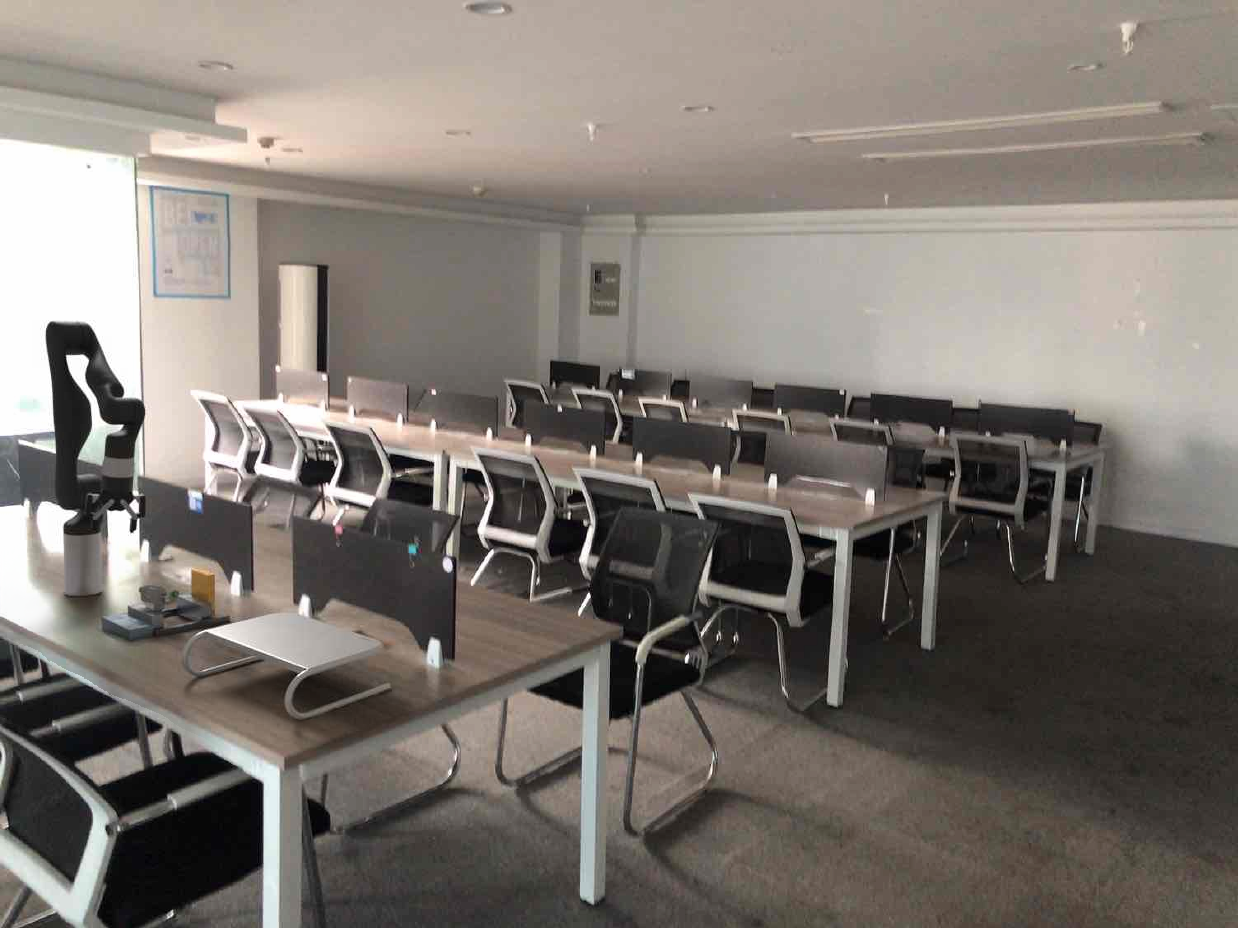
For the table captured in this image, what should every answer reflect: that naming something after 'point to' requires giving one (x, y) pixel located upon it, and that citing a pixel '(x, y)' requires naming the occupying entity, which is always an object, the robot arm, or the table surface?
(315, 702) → the table surface
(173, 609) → the vise body
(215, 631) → the monitor stand
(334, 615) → the table surface
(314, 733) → the table surface
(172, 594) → the mechanical component
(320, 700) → the table surface
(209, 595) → the free jaw
